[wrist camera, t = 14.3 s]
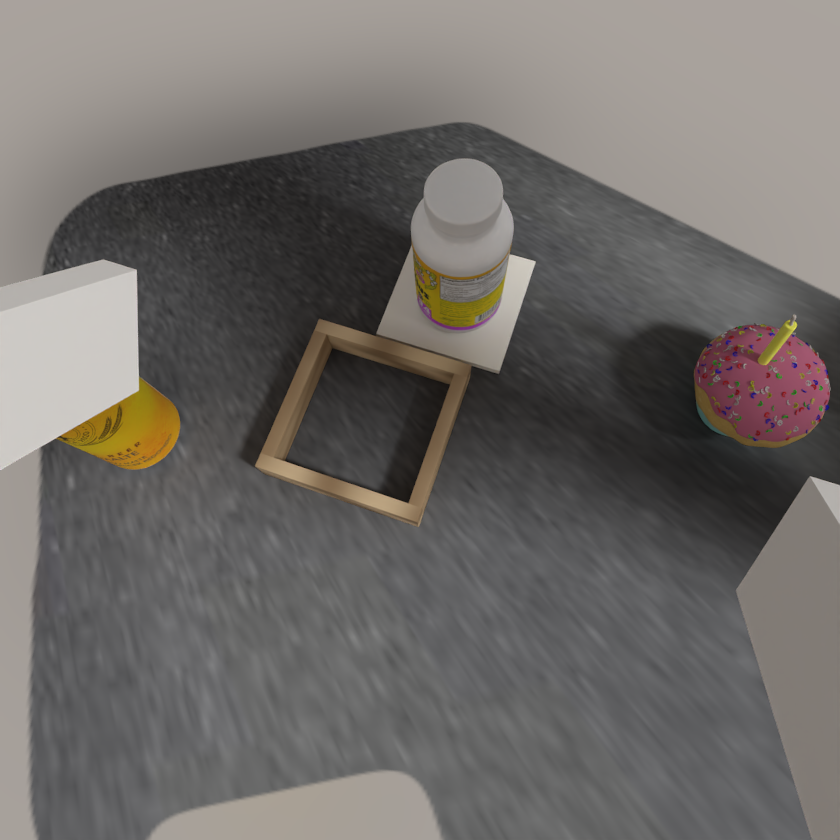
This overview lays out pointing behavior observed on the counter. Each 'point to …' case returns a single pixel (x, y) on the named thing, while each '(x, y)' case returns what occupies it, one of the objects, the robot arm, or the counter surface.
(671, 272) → the counter surface
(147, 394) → the beer can
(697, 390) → the cupcake
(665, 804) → the counter surface
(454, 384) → the oak holder
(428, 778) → the counter surface
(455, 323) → the supplement bottle
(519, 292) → the plate
